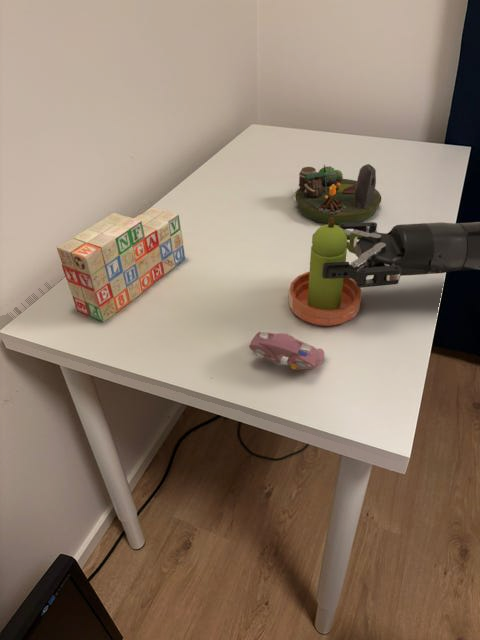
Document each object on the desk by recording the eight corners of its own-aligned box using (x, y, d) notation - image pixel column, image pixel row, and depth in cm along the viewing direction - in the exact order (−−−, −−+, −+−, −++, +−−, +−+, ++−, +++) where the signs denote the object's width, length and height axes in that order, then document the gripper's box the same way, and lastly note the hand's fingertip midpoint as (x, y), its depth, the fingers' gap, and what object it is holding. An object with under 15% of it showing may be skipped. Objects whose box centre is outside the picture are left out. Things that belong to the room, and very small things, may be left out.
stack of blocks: (160, 250, 93) (150, 190, 85) (186, 259, 90) (178, 197, 82) (75, 311, 79) (54, 245, 71) (103, 323, 76) (84, 256, 68)
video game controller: (252, 363, 70) (241, 345, 64) (263, 336, 72) (254, 315, 66) (317, 384, 67) (312, 366, 61) (328, 354, 68) (324, 334, 62)
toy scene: (348, 235, 94) (354, 184, 88) (277, 209, 104) (278, 160, 98) (395, 203, 104) (404, 154, 97) (326, 182, 114) (330, 136, 107)
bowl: (373, 310, 76) (376, 294, 74) (319, 337, 72) (321, 321, 70) (327, 278, 84) (328, 262, 81) (275, 301, 79) (275, 285, 77)
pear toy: (347, 305, 77) (358, 219, 67) (322, 317, 75) (329, 230, 65) (325, 289, 80) (333, 205, 70) (300, 300, 78) (305, 215, 68)
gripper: (415, 204, 75) (310, 209, 75) (450, 252, 64) (328, 259, 64) (406, 246, 80) (308, 251, 79) (437, 297, 69) (324, 304, 68)
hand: (317, 255), depth 72 cm, fingers open, 8 cm apart
